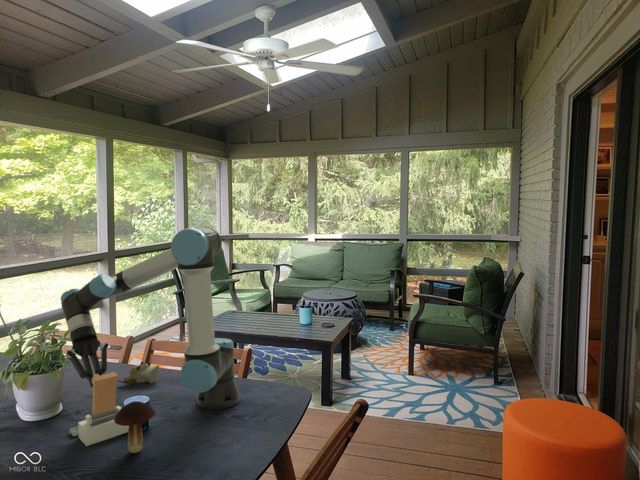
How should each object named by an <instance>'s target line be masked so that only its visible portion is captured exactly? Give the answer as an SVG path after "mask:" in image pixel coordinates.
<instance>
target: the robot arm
mask: <svg viewBox="0 0 640 480" xmlns="http://www.w3.org/2000/svg"><path fill="white" fill-rule="evenodd" d="M222 243H223V242H222V237H221V235H220V233H219V232H218V231H217V230H216V229H215V228H213V227H210V226H209V225H208V226H207V225H202V226H201V225H200V226H191V227H186V228H184V229H181V230H180V231H178V232H177V233H176V234H175V235H174V236H173V238H172V240H171V245H170V248H169V249H166V250H164V251H162V252H160V253H157V254H156V255H154V256H151V257H149V258H147V259H145V260H143V261H141V262H138V263H136V264H134V265H132V266H130V267H128V268H125V269H123V270H121V271H119V272H117V273H115V274H112V275H108V274H105V273H100V274H98V275H97V276H95V277H93V278H92V279H91V280H90V281H89V282H88V283H86V284H85V285H84V286H83V287H81V288H71V289H69V290H66V291H64V292H63V293H62V294H61V296H60V303H61V309H62V312H63V314H64V318H65V320H66V321H65V322H66V324H67V325H66V326H67V331H68V333H69V338H70V340H71V344H72V347H71V349H70V350H69V349H68V350H67V351H66V354H65V358H67V359H68V360H69V361H70V362H71V364H72V366H73V367H74V369H75V370H76V373H77V375H79V378H81V379H86V380H87V381H88V384H89V387H90V388H93V384H92V377H96V376H100V375H104V374H106V372H107V369H108V358H107V357H108V353H107V351H108V350H107V349H108V347H109V344H108V343H107V342H106V343H101V341H100V340H99V338H98V335H97V332H96V328H95V326H94V322H93V319H92V315H91V312H90V310H91V309H93V308H94V307H96V306H97V305H98V304H99V303H101V302H103V301H104V300H108V299H110V298H113V297H115V296H119V295H122V294H123V295H124V294H126V293H128V292H129V291H131V290H133V289H135V288H137V287H139V286H142V285H143V284H146V283H147V282H149V281H153V280H154V279H157V278H158V277H161V276H163V275H165V274H167V273H169V272H172V271H173V270H176V269H177V270H178V271H179V272H181V273H182V276H183V287H184V288H183V290H184V301H185V315H186V326H187V327H186V328H187V331H186V332H187V343H188V345H187V346H186V348H185V349H184V351H183V353H184V356H183V357H184V364H183V365H182V367H181V369H180V373H179V376H180V377H179V379H180V382H181V383H182V385H184V387H185V388H187V389H188V390H189V391H190V392H193V393H197V396H196V400H197V401H196V403H197V406H198V407H199V408H201V409H205V410H213V411H215V410H224V409H228V408H231V407H233V406H235V405H237V404H238V403H239V402H240V391H239V389H238V386H237V384H236V380H235V347H234V346H235V345H234V341H233V340H232V339H230V338H222V337H220V338H219V337H215V327H214V326H215V324H214V313H213V312H214V311H213V297H212V281H211V280H212V279H211V272H212V270H213V269H214V268H215V256H217V254H219V252H220V250H221V248H222V245H223V244H222ZM99 350H100V352H101V353H100V361H99V358H98V355H97V352H98V351H99ZM76 354H77V355H78V356H79V357H80V358H81V360H82V363H83V364H82V363H81V362H80V360H79V358H78V356H77V355H76ZM89 357H90V358H89ZM90 360H91V362H90ZM92 367H93V368H92ZM93 370H94V372H93Z"/></svg>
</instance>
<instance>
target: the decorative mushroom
mask: <svg viewBox="0 0 640 480" xmlns="http://www.w3.org/2000/svg"><path fill="white" fill-rule="evenodd" d="M121 408H122V409H121V410H120V411H119V412H118V413H117V415H116V417H115V420H114V422H115V423H116V424H118V425H122V426H129V429H128V432H127V449H128V451H129V452H130V453H131V454H137V453H140V452H141V451H142V449H143V448H144V437H143V436H144V435H143V427H142V423H143V422H147V421H149V420H151V419H153V417H154V416H155V414H156V412H155V410H154V409H153V408H154V407H152V406H151V405H149V404H147V403H146V402H143V401H138V400H137V401H136V400H135V401H131V402H129V403H127V404H125V405H124V406H122V407H121Z"/></svg>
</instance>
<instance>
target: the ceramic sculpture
mask: <svg viewBox="0 0 640 480" xmlns="http://www.w3.org/2000/svg"><path fill="white" fill-rule="evenodd" d="M159 374H160V365H159V364H158V365H155V366H149V364H148V363H146V362H144V361H140V364H136V365H134V366H133V367H132V368H131V369H130V371H129V376H127V377H124V378H123V379H120V380H119V379H118V382H119V383H121V384H125V385H132V384H143V383H146V382H147V383H149V384H154V383H156V382H157V380H158V377H159Z"/></svg>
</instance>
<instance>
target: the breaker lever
mask: <svg viewBox="0 0 640 480" xmlns="http://www.w3.org/2000/svg"><path fill="white" fill-rule="evenodd" d="M117 382H119V375H118V373H117V372H116V371H113V372H108V373H104V374H102V375H100V376H96V377H92V384H93V387H92V406H91V407H92V409H91V410H92V412H91V413H90V416H91V417H92V420H95V419H98V418H101V417H105V416H108V415H111V414H114V413H117V408H116V405H117V404H116V402H117V400H116V399H117Z"/></svg>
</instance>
